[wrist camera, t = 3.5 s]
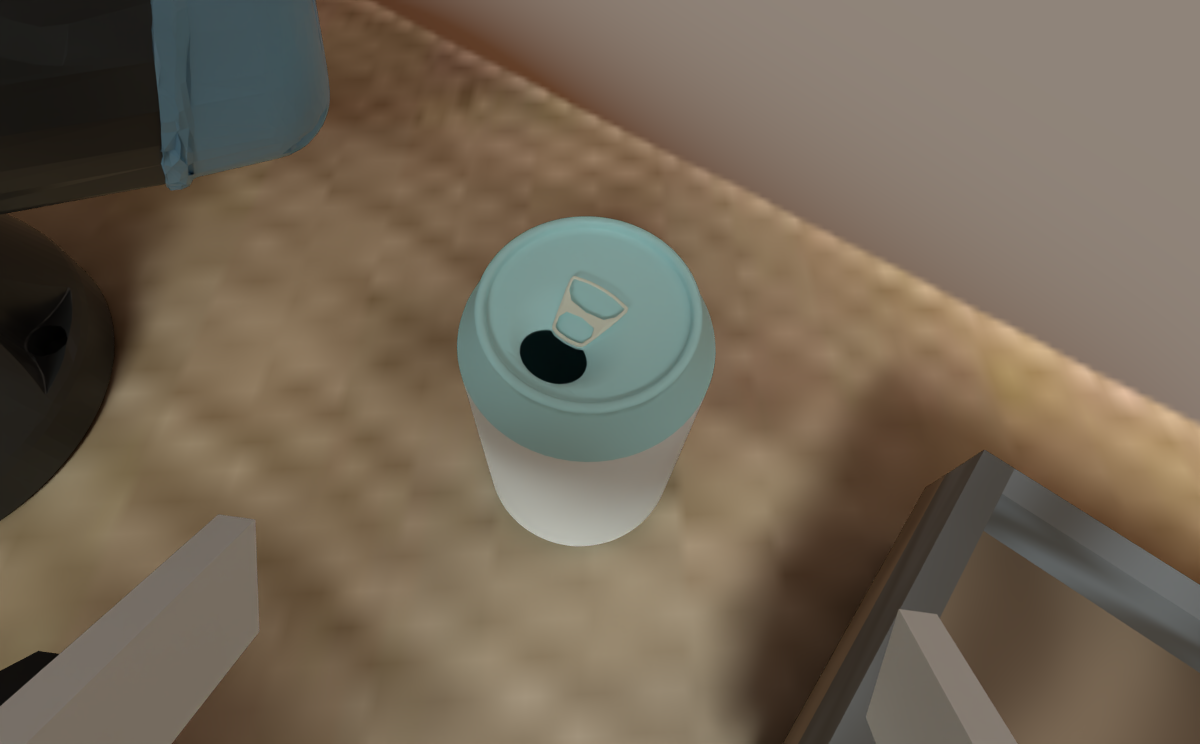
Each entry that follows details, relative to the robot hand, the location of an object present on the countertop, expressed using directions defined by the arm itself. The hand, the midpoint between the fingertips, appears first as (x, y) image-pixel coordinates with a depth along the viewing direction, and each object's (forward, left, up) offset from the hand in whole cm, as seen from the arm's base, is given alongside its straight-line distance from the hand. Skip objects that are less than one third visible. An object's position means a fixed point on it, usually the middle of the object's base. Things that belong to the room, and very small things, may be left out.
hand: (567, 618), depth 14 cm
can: (-4, +6, -12) cm, 14 cm away
